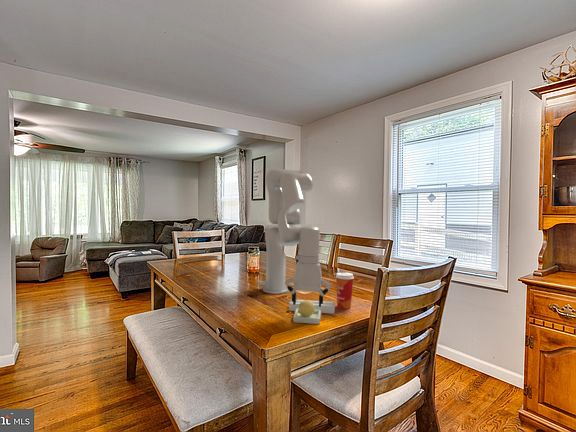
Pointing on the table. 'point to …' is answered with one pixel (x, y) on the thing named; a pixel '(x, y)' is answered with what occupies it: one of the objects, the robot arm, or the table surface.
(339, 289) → the paper cup
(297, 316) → the dish
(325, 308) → the rails
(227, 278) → the table surface
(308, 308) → the ball
